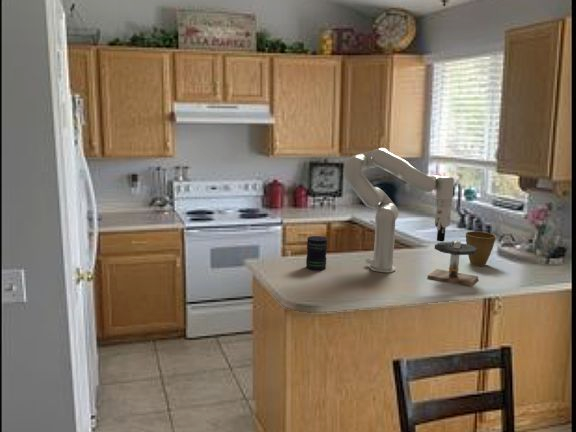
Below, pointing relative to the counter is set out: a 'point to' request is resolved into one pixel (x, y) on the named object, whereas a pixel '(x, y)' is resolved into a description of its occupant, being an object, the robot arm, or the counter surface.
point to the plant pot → (480, 246)
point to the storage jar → (316, 253)
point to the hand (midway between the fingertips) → (440, 240)
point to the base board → (460, 279)
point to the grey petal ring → (463, 249)
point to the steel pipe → (454, 260)
